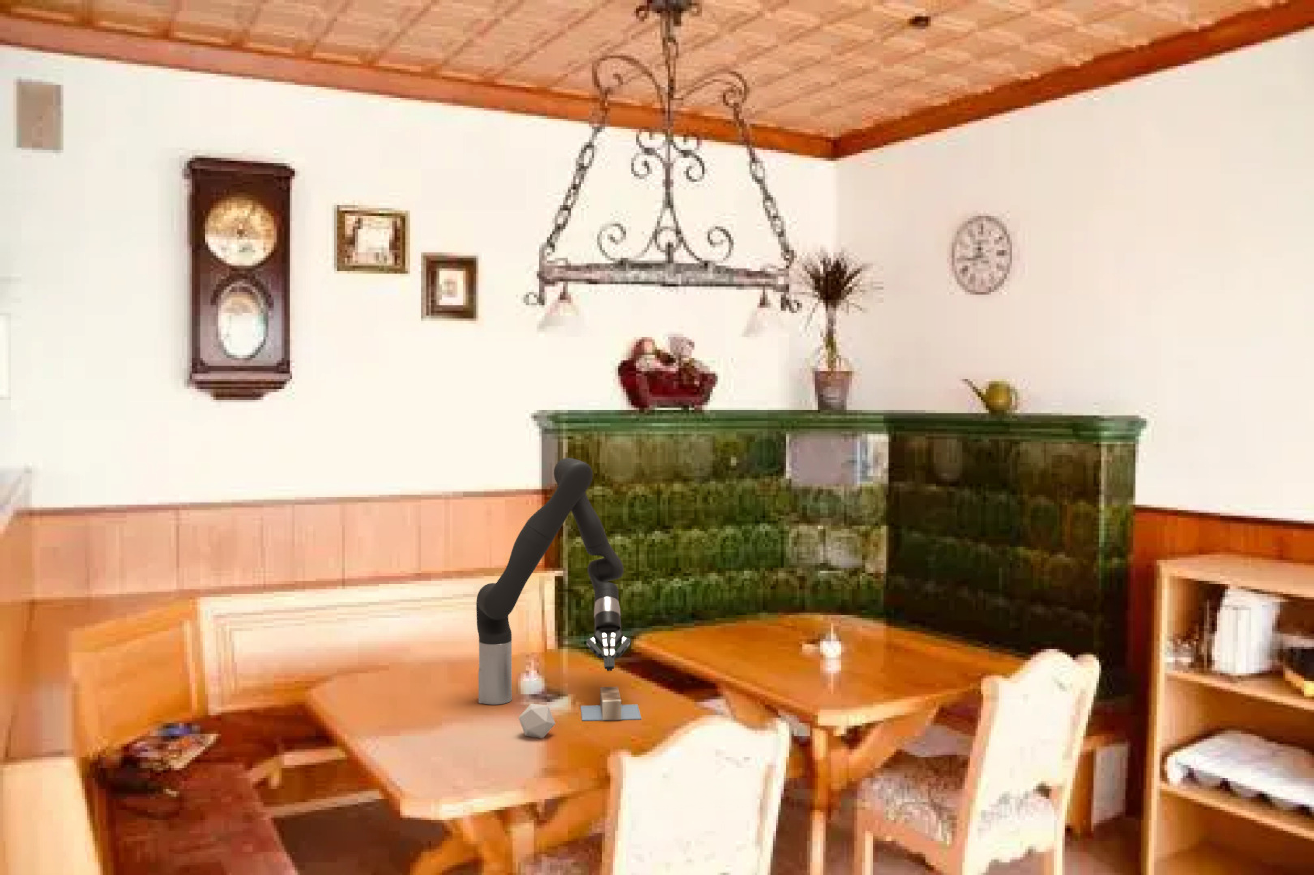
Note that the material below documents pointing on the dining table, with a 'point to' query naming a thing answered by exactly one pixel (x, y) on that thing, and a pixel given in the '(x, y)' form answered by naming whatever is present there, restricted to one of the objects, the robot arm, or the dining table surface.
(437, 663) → the dining table surface
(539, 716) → the die
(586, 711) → the board
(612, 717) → the block
